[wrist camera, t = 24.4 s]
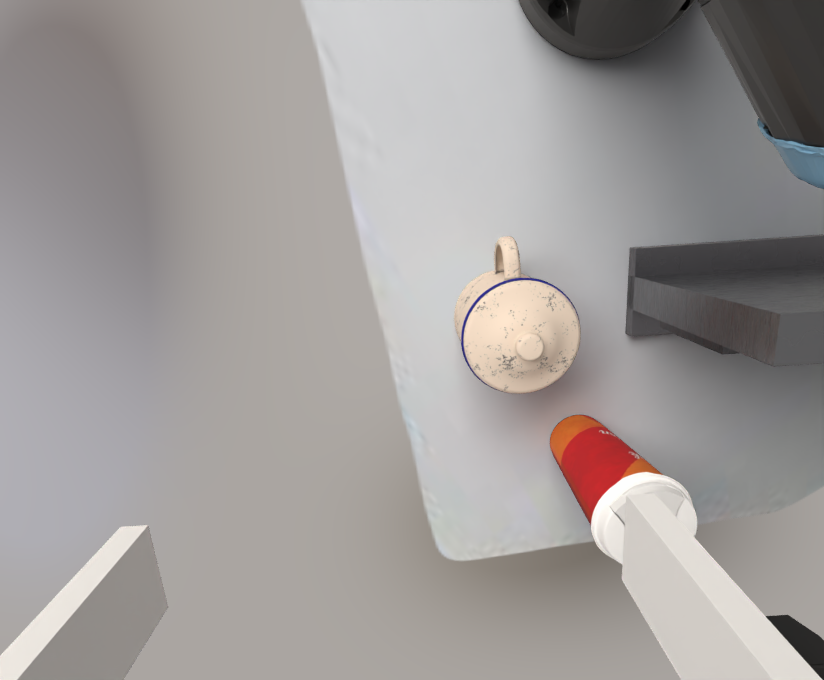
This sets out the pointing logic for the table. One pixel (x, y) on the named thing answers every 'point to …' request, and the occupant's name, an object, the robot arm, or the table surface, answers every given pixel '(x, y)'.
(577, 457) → the paper cup
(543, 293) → the teacup with lid
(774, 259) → the panel
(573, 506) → the table surface
